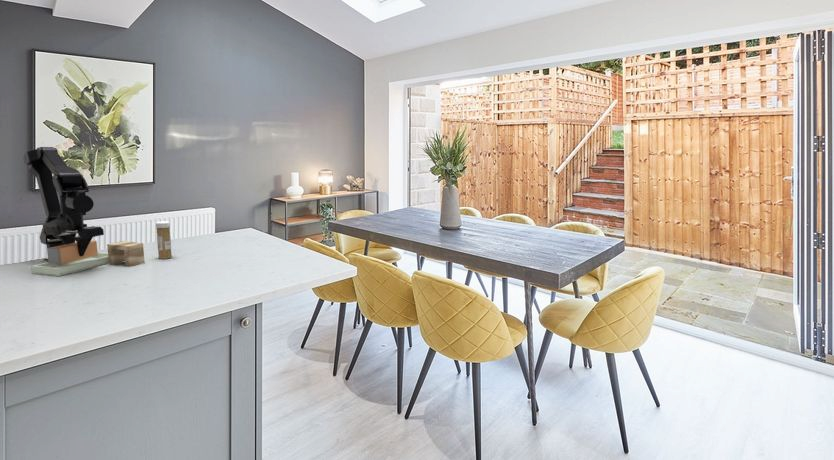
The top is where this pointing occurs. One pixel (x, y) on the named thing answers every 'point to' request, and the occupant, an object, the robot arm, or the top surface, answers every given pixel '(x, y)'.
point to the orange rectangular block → (70, 253)
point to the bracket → (125, 253)
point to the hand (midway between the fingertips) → (76, 255)
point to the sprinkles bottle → (163, 239)
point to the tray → (70, 265)
